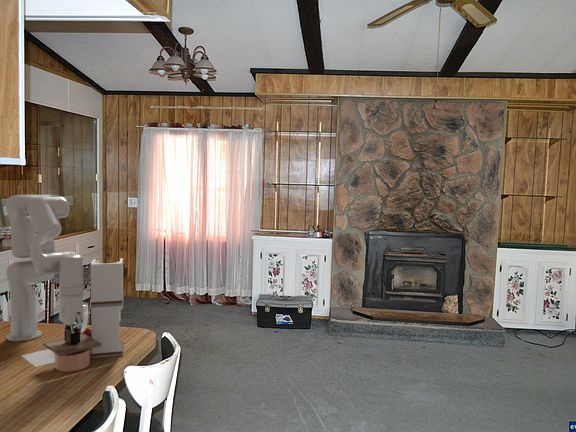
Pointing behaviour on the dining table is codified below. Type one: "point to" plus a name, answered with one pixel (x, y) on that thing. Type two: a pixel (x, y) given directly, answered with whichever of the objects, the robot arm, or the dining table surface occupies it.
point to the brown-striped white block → (106, 307)
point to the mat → (40, 357)
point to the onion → (87, 332)
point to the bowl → (73, 361)
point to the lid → (66, 348)
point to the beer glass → (84, 324)
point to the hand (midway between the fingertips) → (72, 341)
